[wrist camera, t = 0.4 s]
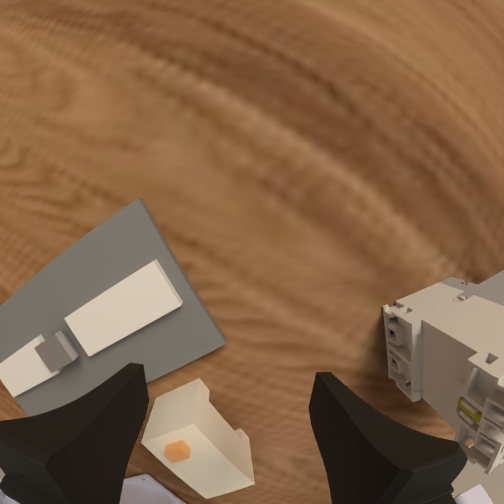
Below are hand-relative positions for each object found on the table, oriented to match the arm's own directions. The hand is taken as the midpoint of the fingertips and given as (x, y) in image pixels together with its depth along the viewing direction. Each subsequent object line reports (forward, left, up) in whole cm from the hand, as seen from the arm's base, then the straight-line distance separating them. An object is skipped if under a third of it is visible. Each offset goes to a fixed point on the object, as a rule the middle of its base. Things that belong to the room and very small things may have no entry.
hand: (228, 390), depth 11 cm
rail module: (-7, -8, -11) cm, 15 cm away
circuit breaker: (+17, -12, -11) cm, 23 cm away
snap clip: (-13, +4, -8) cm, 16 cm away
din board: (-13, +4, -11) cm, 17 cm away
